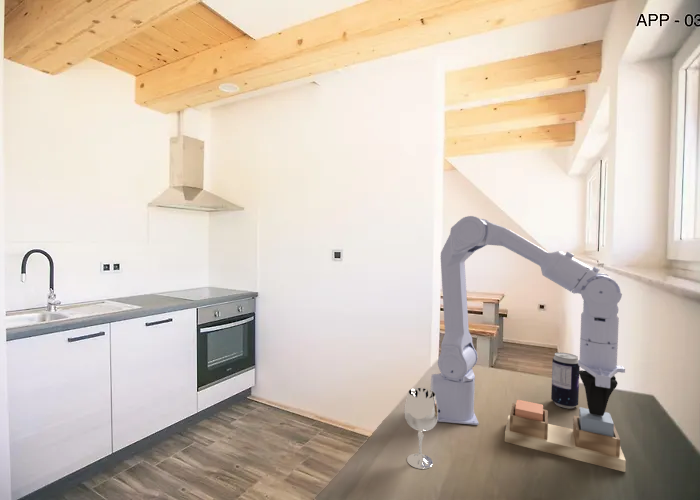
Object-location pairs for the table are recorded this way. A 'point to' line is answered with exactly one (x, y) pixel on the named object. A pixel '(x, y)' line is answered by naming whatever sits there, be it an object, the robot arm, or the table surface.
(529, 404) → the terracotta key
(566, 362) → the beverage can
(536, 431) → the wooden socket board
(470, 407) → the robot arm
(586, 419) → the slate key
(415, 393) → the wineglass
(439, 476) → the table surface
